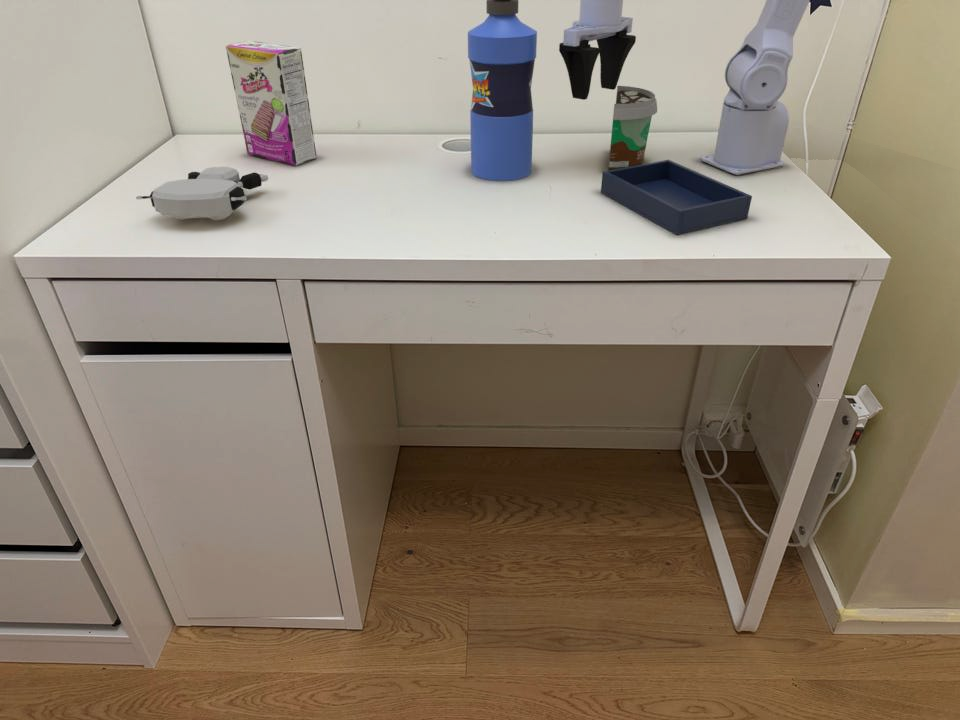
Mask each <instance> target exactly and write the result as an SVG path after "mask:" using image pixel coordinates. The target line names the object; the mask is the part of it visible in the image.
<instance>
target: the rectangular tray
mask: <svg viewBox="0 0 960 720" xmlns="http://www.w3.org/2000/svg"><path fill="white" fill-rule="evenodd" d="M600 184H601V185H600V194H602V195H603V196H606V197H607V198H610V199H611V200H613V201H615V202H616V203H618V204H620V205H622V206H623V207H625V208H627V209H629V210H631V211H632V212H634V213H636V214H638V215H640V216H642V217H643V218H644V219H647V220H648V221H650V222H653V224H656V225H657V226H659V227H661V228H663V229H664V230H666V231H669V232H671V233H672V234H674V235H676V236H679V235H683V234H687V233H692V232H696V231H701V230H705V229H709V228H713V227H718V226H721V225H726V224H730V223H731V224H732V223H735V222H740V221H743V220H747V219H748V217H749V212H750V208H751V202H752V198H753V196H752V195H750V193H749V194H748V193H745V192H744V191H741V190H740V189H737V188H735V187H733V186H730V185H728V184H726V183H723V182H722V181H719V180H716V179H714V178H712V177H709V176H707V175H705V174H702V173H701V172H698V171H696V170H693V169H691V168H689V167H687V166H684V165H682V164H680V163H677V162H676V161H673V160H671V159H664V160H660V161H653V162H648V163H643V164H642V165H636V166H631V167H625V168H620V169H614V170H609V171H608V170H603V171H602V174H601V183H600Z"/></svg>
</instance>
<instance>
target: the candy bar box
mask: <svg viewBox="0 0 960 720" xmlns="http://www.w3.org/2000/svg"><path fill="white" fill-rule="evenodd" d="M224 47H225V50H226V55H227V59H228V65H229V70H230V75H231V79H232V86H233V90H234V95H235V99H236V103H237V110H238V114H239V119H240V124H241V129H242V133H243V139H244V143H245V149H246V153H247V155H249V156H254V157H257V158H262V159H266V160H270V161H274V162H279V163H282V164H286V165H292V166H295V167H297V166H301V165H303V164H305V163H308V162H310V161H313V160H315V159H317V158H318V157H317V150H316V143H315V136H314V130H313V122H312V115H311V109H310V108H311V107H310V101H309V95H308V88H307V82H306V81H307V80H306V74H305V67H304V61H303V53H302V48H301V47H297V46H289V45H283V44H273V43H268V42H261V41H253V40H247V41H242V42H241V41H240V42H236V43H231V44H228V45H225V46H224Z"/></svg>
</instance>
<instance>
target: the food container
mask: <svg viewBox="0 0 960 720" xmlns="http://www.w3.org/2000/svg"><path fill="white" fill-rule="evenodd" d="M615 98H616V99H615V103H614V105H613V115H612V124H611V125H612V127H611V134H610V135H611V136H610V146H609V147H610V148H609V158H608V167H607V171H609V170H614V169H620V168H625V167H631V166H636V165H642V164H644V163H643V162H644V159H645V153H646V149H647V148H646V147H647V142H648V138H649V133H650V128H651V122H652V118H653V116H654V115H656V114H657V113H658V101H657V98H656V94H655V93H654V92H653V91H651V90H648V89H645V88H642V87H636V86H628V85H617V86H616V97H615Z"/></svg>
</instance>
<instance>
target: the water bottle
mask: <svg viewBox="0 0 960 720" xmlns="http://www.w3.org/2000/svg"><path fill="white" fill-rule="evenodd" d="M518 13H519V0H486V14H488V16H487V17H486V18H485V20H484V21H483V22H482V23H480V24H478V25H477V26H474V27H473V28H471V29H470V30H468V31H467V58H468V59H469V68H470V75H471V84H472V85H471V86H472V95H471V104H470V110H469V111H470V115H469V117H470V118H469V121H470V124H469V125H470V126H469V127H470V172H471V174H472V175H473V176H474V177H476V178H479V179H482V180H485V181H492V182H493V181H494V182H509V181H516V180H517V181H518V180H521V179H525V178H526V177H528V176H530V175H531V174H532V171H533V169H532V168H533V140H534V139H533V137H534V135H533V134H534V107H533V97H532V96H533V95H532V83H533V78H534V77H533V76H534V69H535V61H536V58H537V44H538V31H537V30H535V29H534V28H532V27H530V26H529V25H528V24H526V23H523V22H522V21H521V19H519V17H518V16H517V14H518Z"/></svg>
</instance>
